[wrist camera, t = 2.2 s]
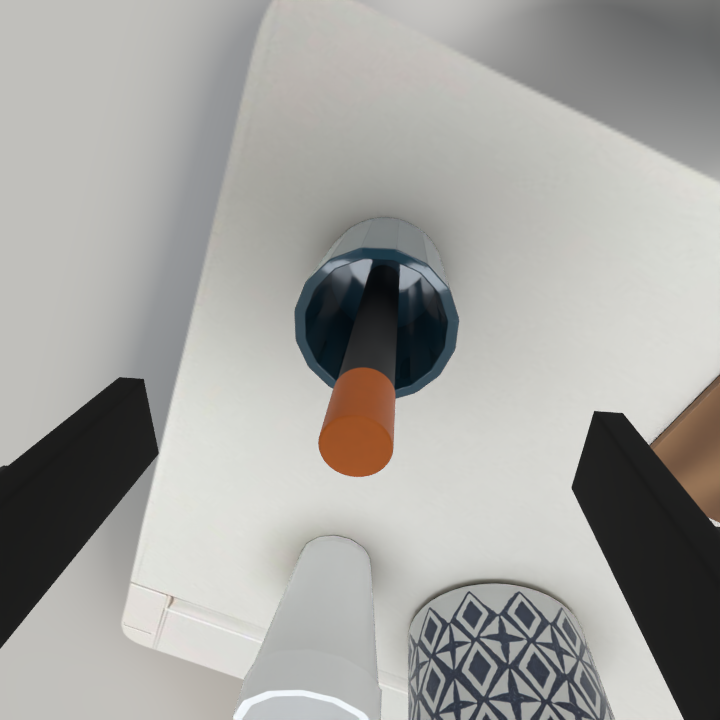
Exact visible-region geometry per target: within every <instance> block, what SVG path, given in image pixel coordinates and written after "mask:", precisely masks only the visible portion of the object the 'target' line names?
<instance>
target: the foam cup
mask: <svg viewBox="0 0 720 720" xmlns="http://www.w3.org/2000/svg"><path fill="white" fill-rule="evenodd" d="M381 695H382V690H381V689H380V688H379V686H378V672H377V656H376V640H375V624H374V608H373V592H372V577H371V564H370V557H369V556H368V554H367V553H366V551H365V549H364V548H363V547H362V546H360V545H359V544H357V543H356V542H354V541H352V540H351V539H348V538H343V537H339V536H335V535H333V536H323V537H318V538H316V539H314V540H312V541H310V542H308V543H307V544H306V546H305V547H304V549H303V551H302V552H301V555H300V557H299V559H298V561H297V563H296V565H295V568H294V570H293V573H292V575H291V577H290V580H289V582H288V584H287V587H286V589H285V591H284V594H283V596H282V598H281V601H280V603H279V605H278V608H277V610H276V612H275V615H274V617H273V620H272V622H271V624H270V627H269V629H268V631H267V634H266V636H265V638H264V641H263V643H262V645H261V648H260V650H259V652H258V655H257V657H256V659H255V662H254V664H253V665H252V667H251V668H250V670H249V671H248V673H247V674H246V676H245V678H244V682H243V685H242V689H241V692H240V695H239V698H238V702H237V705H236V708H235V711H234V715H233V718H234V720H381Z"/></svg>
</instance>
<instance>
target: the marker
mask: <svg viewBox="0 0 720 720" xmlns="http://www.w3.org/2000/svg"><path fill="white" fill-rule="evenodd" d="M398 302H399V276H398V274H397V272H396V271H395V270H394V269H393V268H392V267H389V266H386V265H380V266H377V267H375V268H373V269H372V270H371V271H370V273H369V275H368V277H367V281H366V284H365V288H364V291H363V295H362V298H361V301H360V305H359V308H358V312H357V315H356V319H355V322H354V325H353V329H352V332H351V336H350V339H349V343H348V346H347V350H346V353H345V356H344V360H343V363H342V367H341V370H340V374H339V377H338V380H337V381H336V383H335V386H334V389H333V392H332V396H331V399H330V402H329V406H328V409H327V412H326V416H325V419H324V422H323V426H322V429H321V432H320V436H319V442H318V444H319V450H320V453H321V456H322V457H323V459H324V461H325V462H326V463H327V464H328V465H329V466H330V467H331V468H332V469H334V470H335V471H337V472H339V473H341V474H344V475H348V476H353V477H364V476H369V475H372V474H375V473H377V472H378V471H380V470H381V469H383V468H384V467H385V466H386V465H387V464H388V462H389V461H390V459H391V457H392V454H393V442H394V419H395V390H394V385H395V364H396V343H397V323H398Z"/></svg>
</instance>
